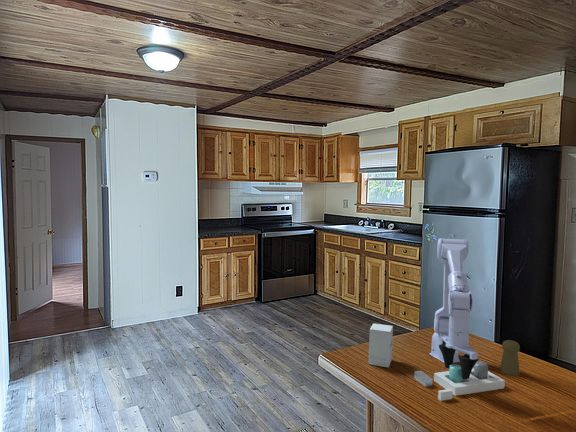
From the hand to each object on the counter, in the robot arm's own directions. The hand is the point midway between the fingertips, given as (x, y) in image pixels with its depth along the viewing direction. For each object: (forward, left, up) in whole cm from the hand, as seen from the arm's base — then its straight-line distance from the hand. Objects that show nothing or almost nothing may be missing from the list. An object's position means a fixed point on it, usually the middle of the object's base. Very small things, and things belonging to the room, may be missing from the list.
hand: (456, 372), depth 127 cm
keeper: (+6, -9, -5) cm, 11 cm away
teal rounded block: (0, 0, -4) cm, 4 cm away
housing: (0, +4, -5) cm, 7 cm away
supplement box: (-23, -14, -5) cm, 27 cm away
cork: (-4, +24, -5) cm, 25 cm away
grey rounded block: (0, +9, -4) cm, 10 cm away
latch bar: (-5, -9, -5) cm, 11 cm away
